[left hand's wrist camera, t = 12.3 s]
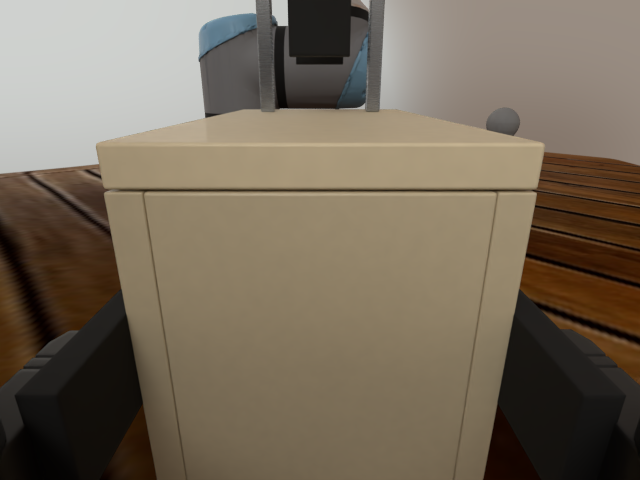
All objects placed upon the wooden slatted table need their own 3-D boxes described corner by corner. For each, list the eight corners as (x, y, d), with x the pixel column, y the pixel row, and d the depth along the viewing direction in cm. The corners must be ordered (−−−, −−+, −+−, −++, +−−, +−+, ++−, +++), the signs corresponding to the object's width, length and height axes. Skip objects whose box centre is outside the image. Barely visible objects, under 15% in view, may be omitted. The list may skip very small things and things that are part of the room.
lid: (243, 126, 25) (233, -42, 22) (396, 126, 25) (407, -41, 22) (102, 190, 9) (-11, -416, 6) (538, 190, 9) (652, -416, 6)
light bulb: (487, 162, 79) (494, 108, 76) (477, 157, 85) (484, 107, 81) (518, 162, 79) (527, 108, 75) (506, 157, 84) (514, 107, 81)
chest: (252, 290, 28) (241, 128, 25) (387, 290, 28) (398, 128, 25) (167, 539, 13) (102, 192, 9) (472, 539, 13) (537, 193, 9)
